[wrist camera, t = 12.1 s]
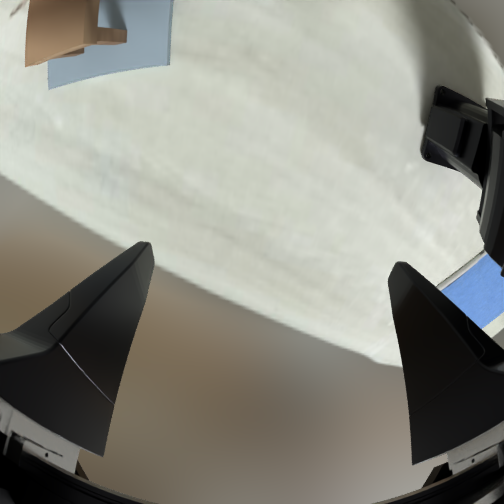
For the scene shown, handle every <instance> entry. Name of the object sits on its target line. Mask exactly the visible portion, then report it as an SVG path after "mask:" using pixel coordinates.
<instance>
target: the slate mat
mask: <svg viewBox="0 0 504 504" xmlns="http://www.w3.org/2000/svg"><path fill="white" fill-rule="evenodd" d="M172 10H173V0H100V4H99V14H98V27H105V28H114V29H121V30H127V43H122V44H118V45H91V46H87V47H84V53H83V54H80V55H77V56H73V57H64V58H57V59H50V60H48V87H49V90H50V89H53V88H56V87H60V86H63V85H66V84H70V83H73V82H77V81H80V80H84V79H88V78H92V77H97V76H101V75H106V74H111V73H116V72H121V71H127V70H133V69H140V68H147V67H156V66H165V65H170V43H171V24H172Z"/></svg>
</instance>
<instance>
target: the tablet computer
mask: <svg viewBox="0 0 504 504" xmlns="http://www.w3.org/2000/svg"><path fill="white" fill-rule="evenodd" d="M501 270H502V268H501V267H500V266H498V265H497V264H496V263H495V262H494V261H493V260H492V259H491V258H490V256H489V255H488V254H487V253H486V251H485V250H483V252H481V253H480V254H479V255H478V256H476V257H475V258H474V259H473V260H471V261H470V262H469V263H468V264H466V265H465V266H464V267H462V268H461V269H460V270H459V271H457V272H456V273H455V274H453V275H452V276H451V277H449V278H448V279H446V280H445V281H444V282H442V283H441V284H439V285H438V286H437V287H436V288H438V289H439V290H440V291H441V292H442V293H443V294H444V295H445V296H447V297H448V298H449V299H450V300H451V301H452V302H453V303H454V304H455V305H456V306H457V307H459V308H460V309H461V310H462V311H463V312H464V313H465V314H466V316H468V317H469V318H470V319H471V320H472V321H473V322H474V323H475V324H476V325H477V326H479V327H480V328H481V329H482V328H483V327H485V326H486V325H487V324H489V323H490V322H491V321H493V320H494V319H495V318H497V317H498V316H499V315H500V314H502V313H503V312H504V277H502V276H501V275H500V272H501Z"/></svg>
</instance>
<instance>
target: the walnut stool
mask: <svg viewBox="0 0 504 504" xmlns="http://www.w3.org/2000/svg"><path fill="white" fill-rule="evenodd" d="M99 4H100V0H30V4H29V11H28V19H27V30H26V47H25V67H28V66H33V65H38V64H41V63H43V62H46V61H48V60H50V59H57V58H64V57H73V56H77V55H80V54H83V53H84V47H87V46H91V45H118V44H122V43H127V30H121V29H114V28H105V27H98V14H99Z"/></svg>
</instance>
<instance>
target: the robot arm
mask: <svg viewBox="0 0 504 504" xmlns="http://www.w3.org/2000/svg"><path fill="white" fill-rule="evenodd" d="M441 89H442V90H443V93H442V94H441ZM486 106H487V109H486V108H484V107H482V106H480V105H479V104H477V103H475V102H473V101H472V100H470V99H468V98H466V97H464V96H462V95H460V94H458V93H457V92H455V91H452V90H450V89H448V88H446V87H444V86H440V85H439V86H437V87H436V89H435V95H434V101H433V106H432V108H431V112H430V117H429V121H428V126H427V130H426V138H425V142H424V145H423V149H422V154H421V155H422V158H423V159H424V160H426V161H428V162H431V163H435V164H438V165H441V166H444V167H447V168H450V169H453V170H456V171H459V172H461V173H463V174H464V175H465V176H466V177H468V178H469V179H470V180H471V181H472V182H474V183H475V184H476V185H477V186H478V187H480V188H481V189H482V196H481V202H480V207H479V210H478V211H477V216H476V218H477V221H478V223H479V225H480V234H481V237H482V239H483V242H484V243H485V244H484V250H485V251H486V253H487V254H488V255H489V256H490V258H491V259H492V260H493V261H494V262H495V263H496V264H497V265H498V266H500V267H501V268H502V270H501V272H500V275H501V276H502V277H504V100H498V99H491V98H486ZM427 153H429V155H428V156H427V157H426V154H427ZM153 268H154V256H153V251H152V246H151V243H149V242H142V241H140V242H138V243H136V244H135V245H133V246H132V247H130V248H129V249H127V250H126V251H124V252H123V253H122V254H120V255H118V256H117V257H116V258H114V259H113V260H111V261H110V262H109V263H107V264H106V265H104V266H103V267H101V268H100V269H99V270H97V271H96V272H94V273H93V274H92V275H90V276H89V277H87V278H86V279H85V280H83V281H82V282H81V283H79V284H78V285H77V286H75V287H74V288H73V289H71V291H69V292H67V293H66V294H65V295H63V296H62V297H61V298H60V299H58V300H57V301H55V302H54V303H53V304H51V305H50V306H48V307H47V308H46V309H44V310H43V311H41V312H40V313H38V314H37V315H36V316H34V317H32V318H31V319H30V320H28V321H27V322H25V323H24V324H22V325H21V326H20V327H18V328H17V329H15V330H13V331H11V332H8V333H3V334H0V504H157V503H153V502H149V501H146V500H142V499H138V498H135V497H132V496H129V495H126V494H123V493H120V492H117V491H114V490H111V489H108V488H106V487H103V486H100V485H98V484H96V483H93V482H91V481H89V479H88V478H87V476H86V474H85V472H84V471H83V469H82V467H81V465H80V463H79V462H78V460H77V459H78V455H79V450H80V448H81V449H83V450H85V451H88V452H91V453H93V454H95V455H98V456H101V457H103V455H104V451H105V446H106V441H107V436H108V432H109V427H110V422H111V418H112V414H113V410H114V404H115V401H116V397H117V393H118V389H119V386H120V381H121V378H122V374H123V371H124V367H125V364H126V361H127V357H128V354H129V351H130V347H131V344H132V341H133V338H134V335H135V331H136V329H137V325H138V322H139V320H140V317H141V314H142V311H143V307H144V305H145V302H146V298H147V294H148V289H149V285H150V281H151V276H152V273H153ZM388 287H389V293H390V300H391V307H392V314H393V320H394V325H395V329H396V334H397V339H398V344H399V349H400V354H401V360H402V365H403V372H404V378H405V385H406V392H407V400H408V409H409V415H410V416H409V419H410V433H411V450H412V465H416V464H419V463H422V462H425V461H428V460H430V459H433V458H436V457H438V456H441V455H444V454H446V453H447V457H448V462H446V463H444V464H441V465H439V466H437V467H434V468H433V470H432V472H431V474H430V475H429V477H428V479H427V480H426V482H425V483H424V485H423V487H422V488H421V489H419V490H416V491H413V492H410V493H407V494H405V495H401V496H398V497H395V498H391V499H388V500H384V501H381V502H377V503H373V504H504V349H502V348H501V347H500V346H499V345H498V344H497V343H496V342H495V341H494V340H493V339H492V338H490V337H489V336H488V335H487V334H486V333H485V332H484V331H483V330H482V329H481V328H480V327H479V326H477V325H476V324H475V323H474V322H473V321H472V320H471V319H470V318H469V317H468V316H466V314H465V313H464V312H463V311H462V310H461V309H460V308H459V307H457V306H456V305H455V304H454V303H453V302H452V301H451V300H450V299H449V298H448V297H447V296H445V295H444V294H443V293H442V292H441V291H440V290H439V289H438V288H436V287H435V286H434V285H433V284H432V283H431V282H430V281H428V280H427V279H426V278H425V277H424V276H423V275H421V274H420V273H419V272H418V271H417V270H415V269H414V268H413V267H412V266H410V265H409V264H408V263H407V262H400V261H398V262H396V263H395V265H394V267H393V269H392V271H391V273H390V275H389V278H388Z"/></svg>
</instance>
